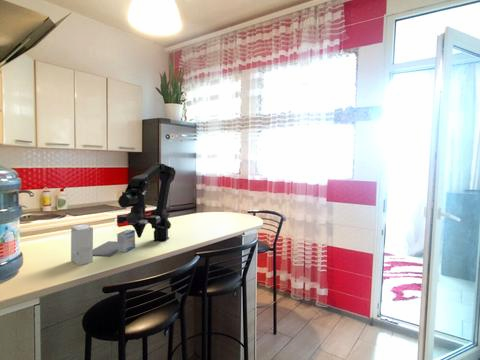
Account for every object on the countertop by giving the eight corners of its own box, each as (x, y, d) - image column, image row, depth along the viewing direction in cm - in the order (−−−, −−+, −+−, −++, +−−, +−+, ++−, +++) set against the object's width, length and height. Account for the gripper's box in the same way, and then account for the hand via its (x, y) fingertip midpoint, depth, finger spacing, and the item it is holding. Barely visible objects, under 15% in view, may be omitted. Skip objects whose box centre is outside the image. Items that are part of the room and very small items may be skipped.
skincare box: (70, 261, 119) (69, 226, 118) (86, 257, 124) (84, 223, 123) (78, 266, 114) (77, 229, 113) (94, 261, 118) (93, 226, 117)
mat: (131, 243, 145) (131, 242, 145) (109, 256, 125) (109, 255, 125) (108, 242, 146) (108, 241, 146) (83, 255, 126) (83, 254, 126)
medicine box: (126, 252, 130) (125, 233, 130) (117, 251, 131) (116, 233, 131) (135, 247, 138) (135, 229, 138) (127, 246, 139) (126, 229, 138)
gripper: (110, 207, 125) (111, 241, 127) (151, 207, 124) (152, 243, 125) (122, 203, 137) (123, 235, 138) (160, 203, 135) (161, 236, 136)
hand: (139, 237), depth 134 cm, fingers closed
